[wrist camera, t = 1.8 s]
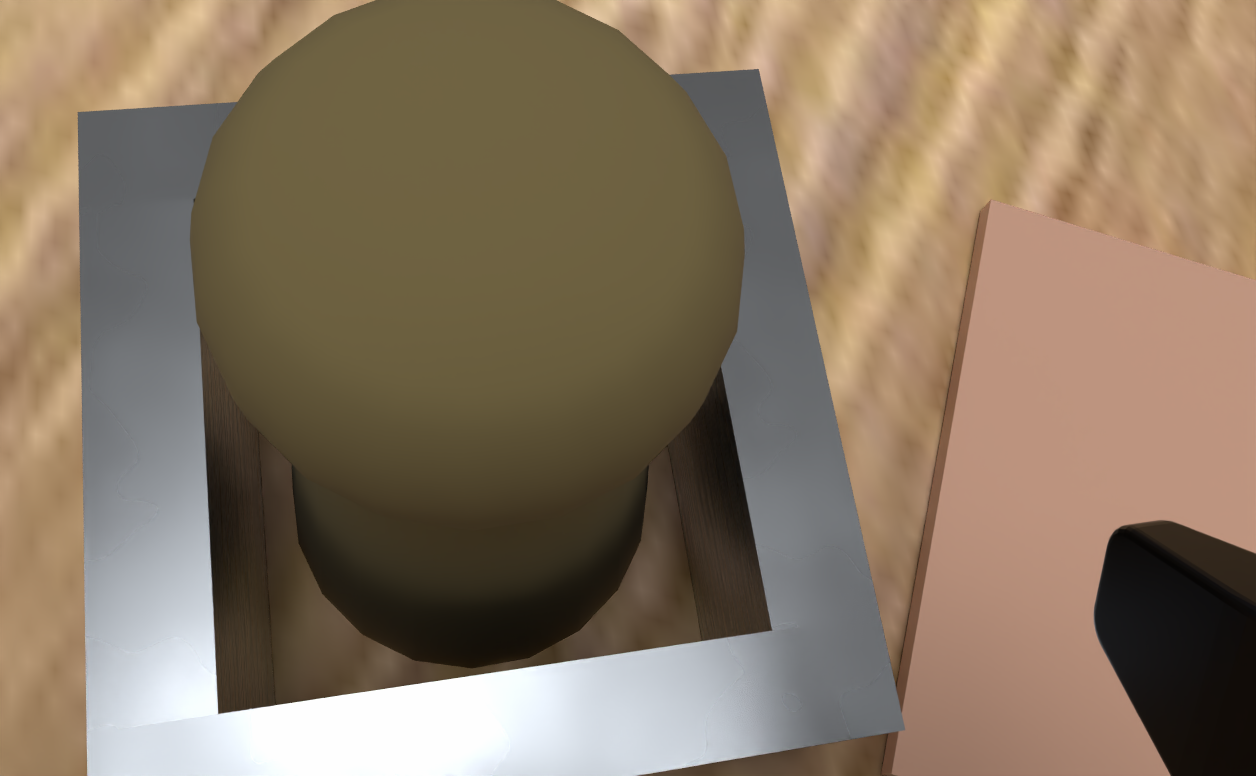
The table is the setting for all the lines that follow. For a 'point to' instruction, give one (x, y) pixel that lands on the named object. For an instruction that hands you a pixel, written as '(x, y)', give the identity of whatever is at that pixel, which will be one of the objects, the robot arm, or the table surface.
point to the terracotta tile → (1065, 490)
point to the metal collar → (482, 704)
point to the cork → (467, 307)
